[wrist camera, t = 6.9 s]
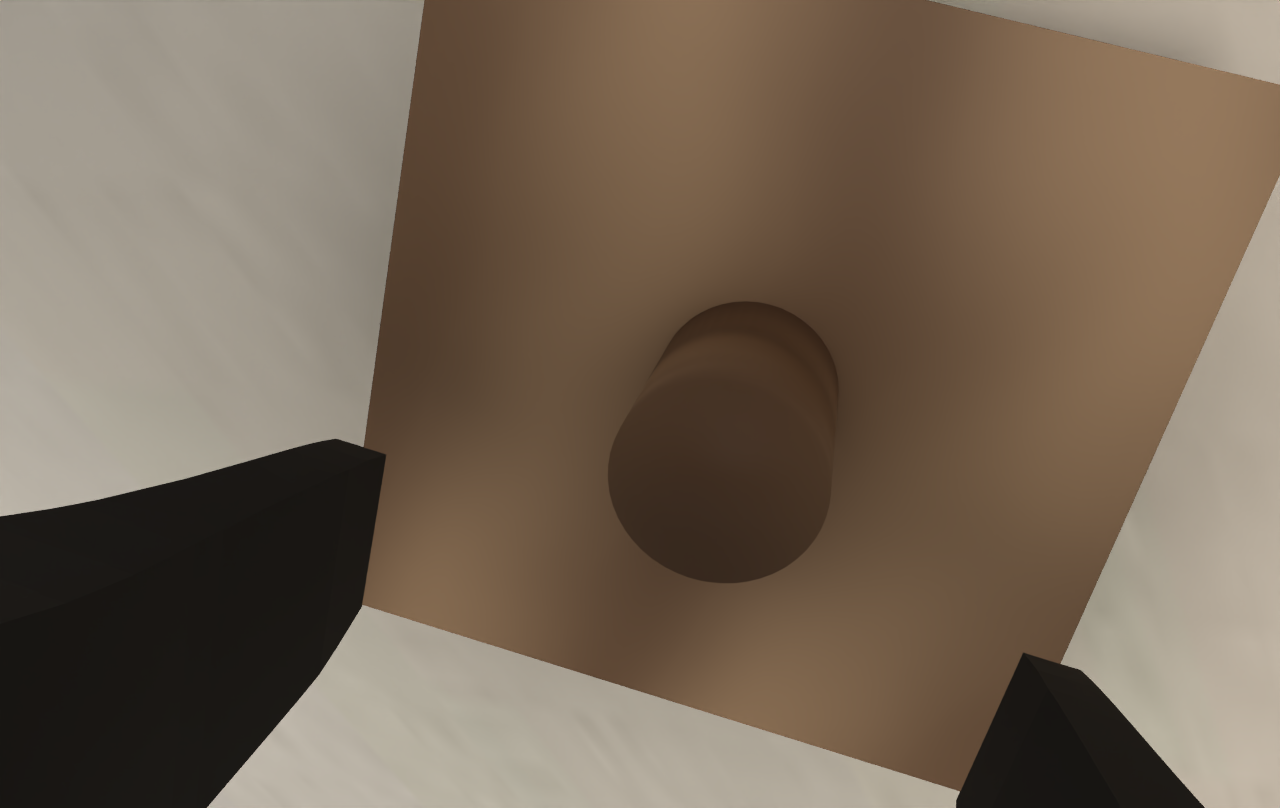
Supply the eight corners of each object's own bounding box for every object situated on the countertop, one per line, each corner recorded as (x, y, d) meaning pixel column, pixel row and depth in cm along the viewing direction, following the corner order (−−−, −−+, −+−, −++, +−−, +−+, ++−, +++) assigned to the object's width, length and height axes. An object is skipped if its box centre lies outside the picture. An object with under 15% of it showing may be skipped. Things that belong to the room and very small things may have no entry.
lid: (364, 574, 21) (237, 719, 16) (462, -111, 16) (321, -150, 12) (992, 768, 19) (1025, 977, 15) (1290, 88, 15) (1455, 122, 11)
